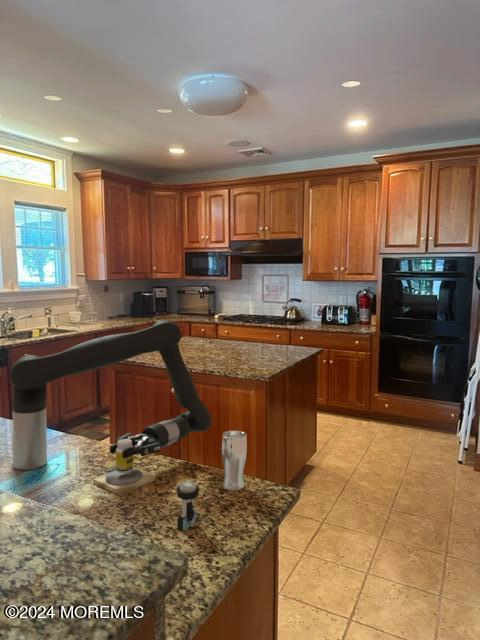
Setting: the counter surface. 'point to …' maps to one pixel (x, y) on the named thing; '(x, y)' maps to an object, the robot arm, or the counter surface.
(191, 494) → the push button
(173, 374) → the robot arm
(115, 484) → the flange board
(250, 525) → the counter surface
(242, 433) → the beer glass
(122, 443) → the supplement bottle
